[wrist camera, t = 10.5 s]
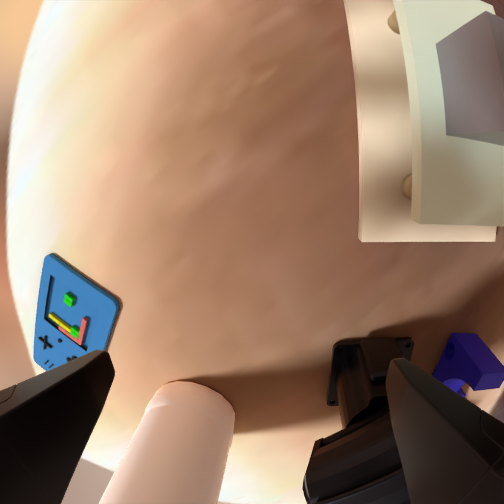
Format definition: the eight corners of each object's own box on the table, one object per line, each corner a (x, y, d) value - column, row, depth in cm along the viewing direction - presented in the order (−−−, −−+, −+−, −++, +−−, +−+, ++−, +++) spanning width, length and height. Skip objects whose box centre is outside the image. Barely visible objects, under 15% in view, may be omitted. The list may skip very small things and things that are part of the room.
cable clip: (434, 426, 24) (450, 467, 18) (399, 429, 24) (412, 473, 18) (486, 333, 20) (519, 370, 14) (450, 331, 20) (483, 374, 15)
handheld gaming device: (31, 361, 26) (43, 252, 21) (37, 356, 27) (50, 249, 22) (88, 404, 26) (116, 305, 22) (92, 398, 27) (123, 299, 23)
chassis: (487, 237, 18) (518, 253, 14) (358, 238, 19) (374, 257, 15) (471, 15, 13) (497, -2, 9) (340, -15, 14) (350, -44, 10)
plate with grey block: (483, 11, 10) (535, -20, 4) (503, 222, 14) (570, 252, 8) (388, -17, 10) (424, -75, 4) (410, 219, 14) (473, 255, 8)
